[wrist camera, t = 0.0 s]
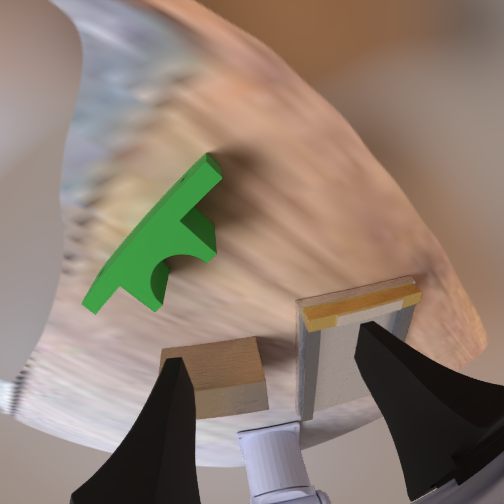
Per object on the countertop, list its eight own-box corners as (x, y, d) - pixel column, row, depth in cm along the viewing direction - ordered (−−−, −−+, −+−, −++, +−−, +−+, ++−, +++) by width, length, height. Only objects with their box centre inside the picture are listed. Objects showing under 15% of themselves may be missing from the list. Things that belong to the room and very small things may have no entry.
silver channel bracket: (379, 384, 30) (388, 399, 28) (295, 408, 29) (301, 427, 27) (409, 275, 23) (426, 291, 21) (295, 300, 22) (305, 321, 20)
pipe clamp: (140, 298, 21) (128, 338, 16) (101, 267, 19) (80, 304, 15) (248, 192, 18) (259, 215, 14) (206, 151, 17) (205, 161, 13)
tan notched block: (255, 335, 23) (265, 381, 19) (258, 366, 25) (269, 409, 21) (161, 348, 23) (156, 394, 18) (174, 377, 25) (172, 421, 20)
